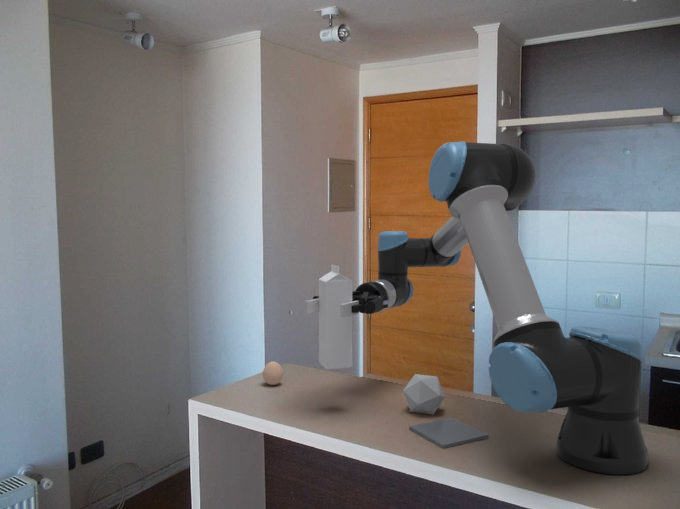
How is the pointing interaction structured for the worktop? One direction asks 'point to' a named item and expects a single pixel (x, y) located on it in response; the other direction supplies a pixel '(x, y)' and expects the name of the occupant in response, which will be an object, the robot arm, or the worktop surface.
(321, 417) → the worktop surface
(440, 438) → the coaster
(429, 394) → the die
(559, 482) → the worktop surface
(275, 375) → the egg
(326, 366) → the milk
